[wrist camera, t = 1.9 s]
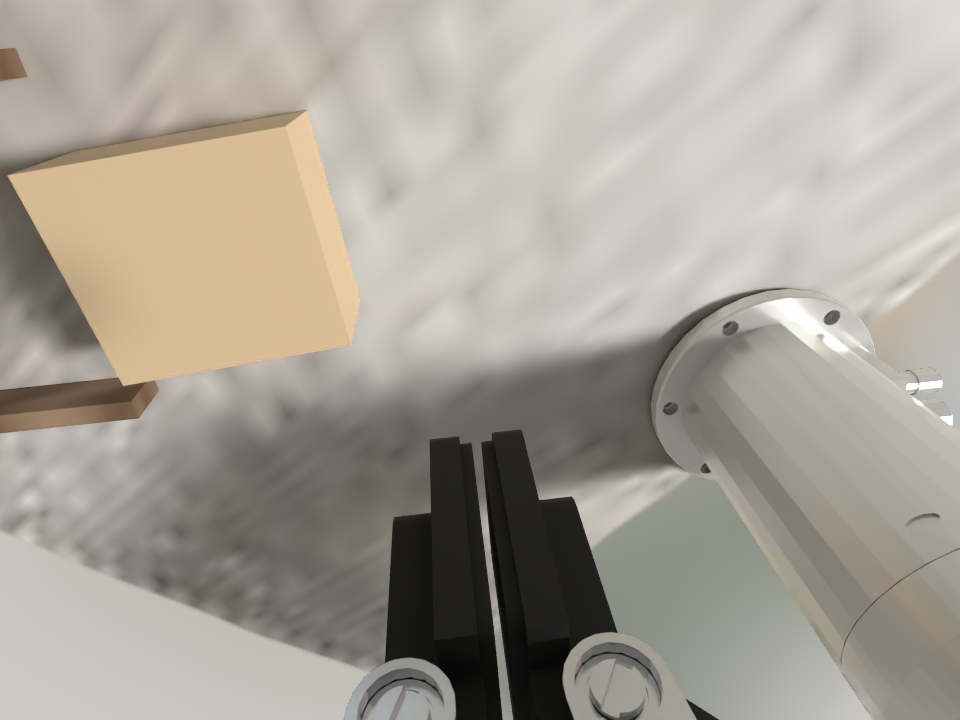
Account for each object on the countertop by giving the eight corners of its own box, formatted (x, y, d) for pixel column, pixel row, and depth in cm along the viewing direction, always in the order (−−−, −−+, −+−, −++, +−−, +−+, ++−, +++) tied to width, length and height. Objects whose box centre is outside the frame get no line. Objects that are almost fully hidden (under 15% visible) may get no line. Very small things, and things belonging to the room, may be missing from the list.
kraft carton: (308, 109, 25) (285, 126, 21) (361, 299, 30) (351, 345, 25) (78, 149, 25) (7, 175, 21) (166, 333, 30) (123, 385, 25)
